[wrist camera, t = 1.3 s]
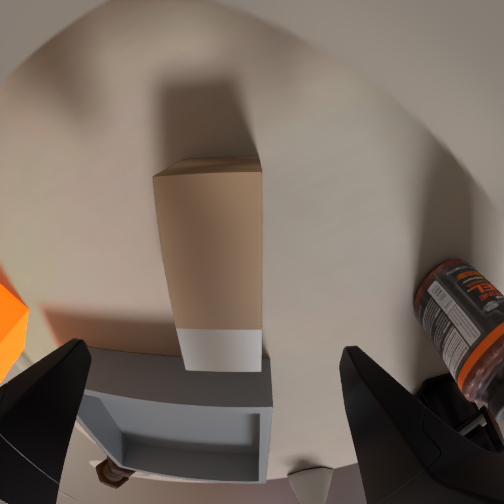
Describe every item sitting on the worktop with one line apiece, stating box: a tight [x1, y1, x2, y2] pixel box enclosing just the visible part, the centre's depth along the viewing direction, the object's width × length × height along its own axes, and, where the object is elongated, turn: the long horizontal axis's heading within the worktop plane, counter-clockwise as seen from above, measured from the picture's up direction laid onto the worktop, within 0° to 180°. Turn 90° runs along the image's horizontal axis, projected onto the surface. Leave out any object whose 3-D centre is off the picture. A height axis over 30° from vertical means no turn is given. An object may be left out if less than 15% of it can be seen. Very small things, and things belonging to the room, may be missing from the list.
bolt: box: [96, 455, 136, 489], centre depth 29 cm, size 6×5×15 cm
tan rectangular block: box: [153, 157, 262, 372], centre depth 14 cm, size 4×10×5 cm, turn 1°
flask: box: [288, 468, 333, 504], centre depth 28 cm, size 7×7×10 cm
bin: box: [76, 347, 273, 483], centre depth 22 cm, size 18×18×4 cm
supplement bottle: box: [414, 259, 504, 421], centre depth 13 cm, size 6×6×11 cm
